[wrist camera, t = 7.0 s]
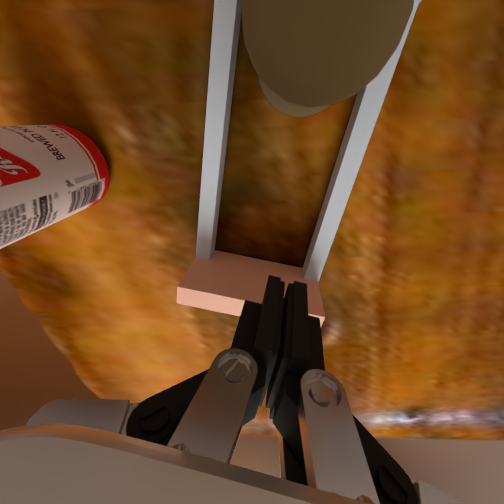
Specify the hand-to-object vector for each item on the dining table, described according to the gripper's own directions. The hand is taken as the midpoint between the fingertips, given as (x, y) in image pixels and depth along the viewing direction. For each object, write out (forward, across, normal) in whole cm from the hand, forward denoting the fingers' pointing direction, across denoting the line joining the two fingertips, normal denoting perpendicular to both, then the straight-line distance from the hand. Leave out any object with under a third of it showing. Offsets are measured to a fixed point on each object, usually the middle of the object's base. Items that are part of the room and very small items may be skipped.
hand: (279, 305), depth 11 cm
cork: (+12, +2, -10) cm, 15 cm away
